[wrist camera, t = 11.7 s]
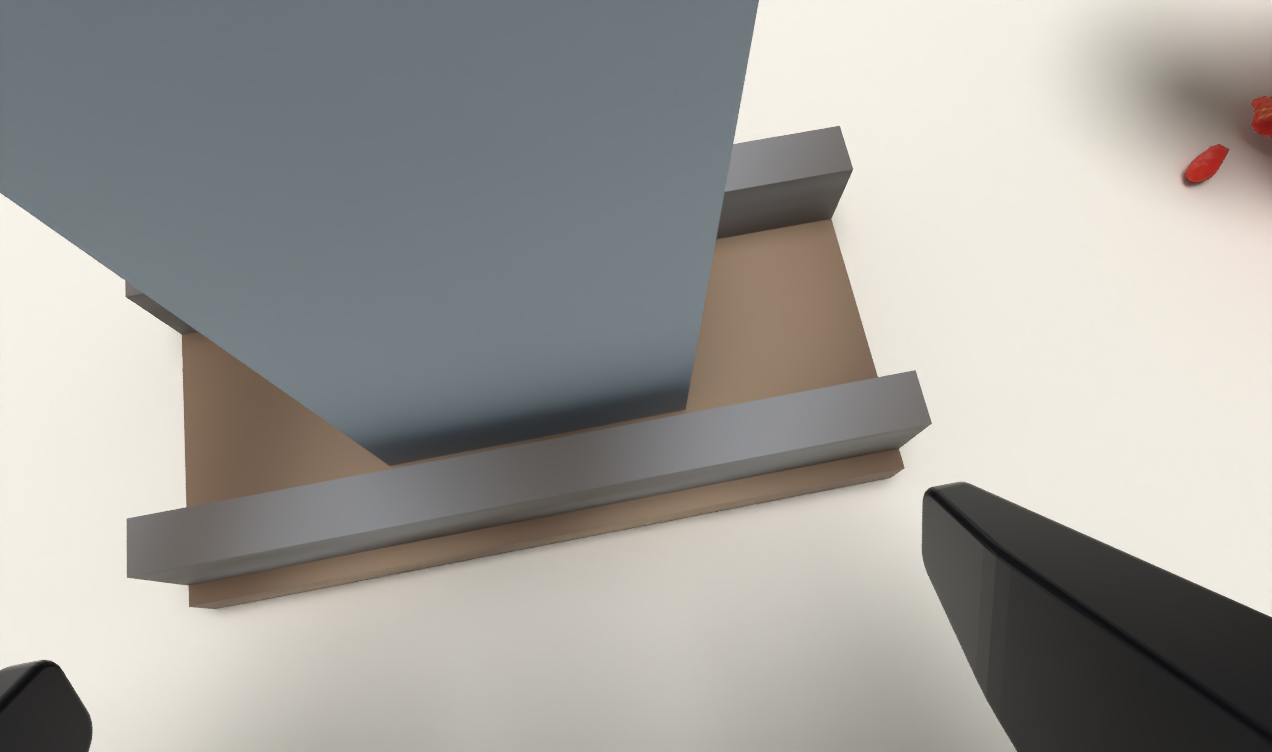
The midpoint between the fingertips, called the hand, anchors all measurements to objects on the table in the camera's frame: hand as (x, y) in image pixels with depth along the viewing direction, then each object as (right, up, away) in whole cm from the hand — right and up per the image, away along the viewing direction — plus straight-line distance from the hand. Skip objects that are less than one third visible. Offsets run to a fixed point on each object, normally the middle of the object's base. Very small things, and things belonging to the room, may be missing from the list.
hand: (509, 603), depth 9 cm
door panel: (-1, +3, +9) cm, 9 cm away
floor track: (-1, +2, +10) cm, 10 cm away
